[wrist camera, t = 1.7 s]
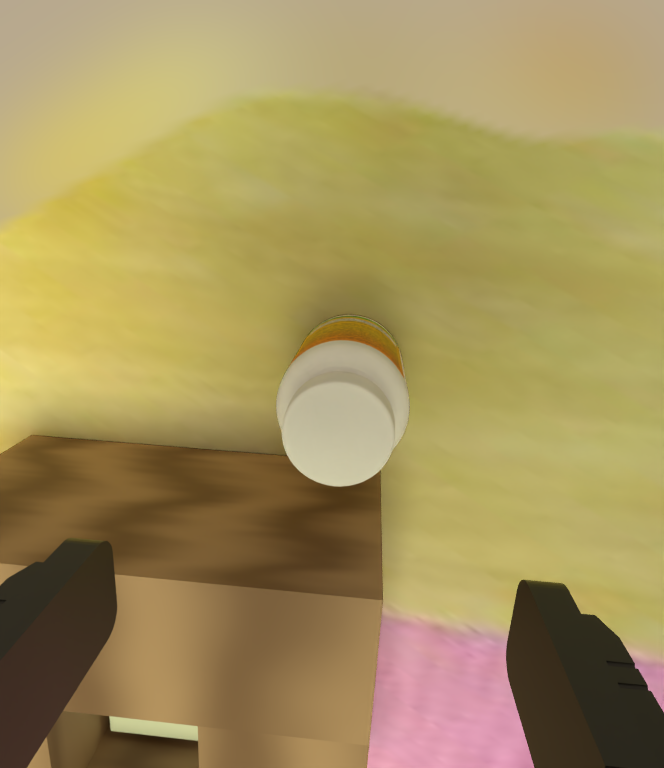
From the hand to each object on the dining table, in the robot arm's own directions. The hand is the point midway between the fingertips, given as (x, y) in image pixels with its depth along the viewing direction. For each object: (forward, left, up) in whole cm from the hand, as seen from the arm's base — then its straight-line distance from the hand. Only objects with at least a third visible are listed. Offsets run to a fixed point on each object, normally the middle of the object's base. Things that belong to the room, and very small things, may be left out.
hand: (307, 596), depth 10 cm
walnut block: (+8, +16, -18) cm, 25 cm away
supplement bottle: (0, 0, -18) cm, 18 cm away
